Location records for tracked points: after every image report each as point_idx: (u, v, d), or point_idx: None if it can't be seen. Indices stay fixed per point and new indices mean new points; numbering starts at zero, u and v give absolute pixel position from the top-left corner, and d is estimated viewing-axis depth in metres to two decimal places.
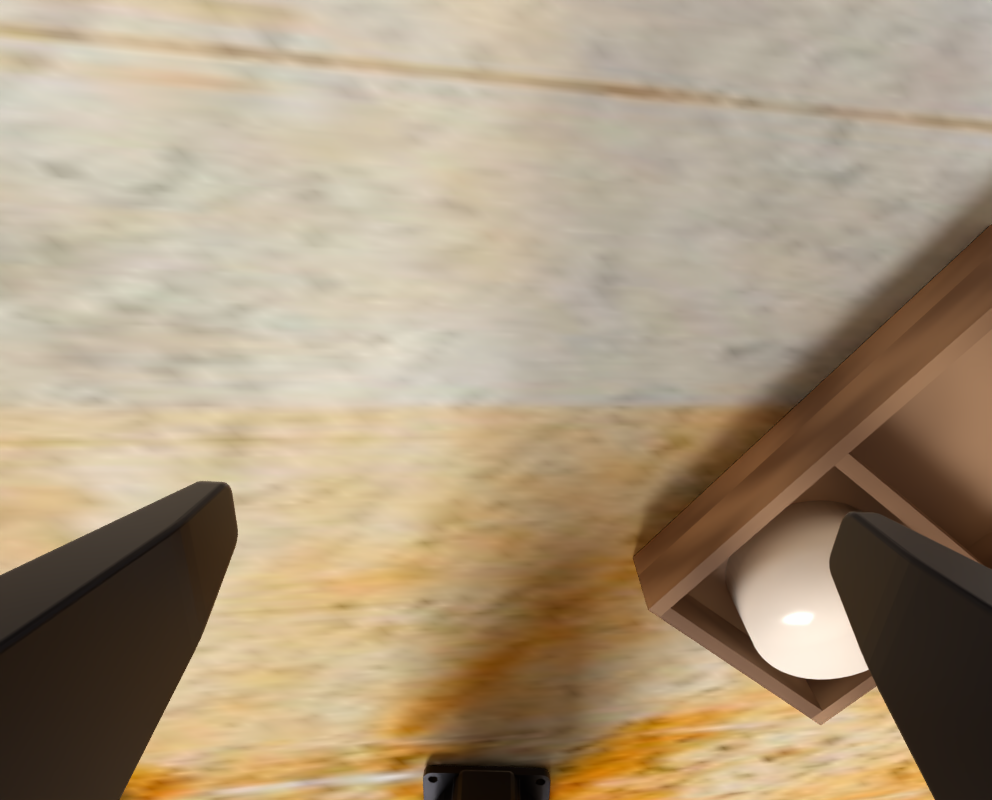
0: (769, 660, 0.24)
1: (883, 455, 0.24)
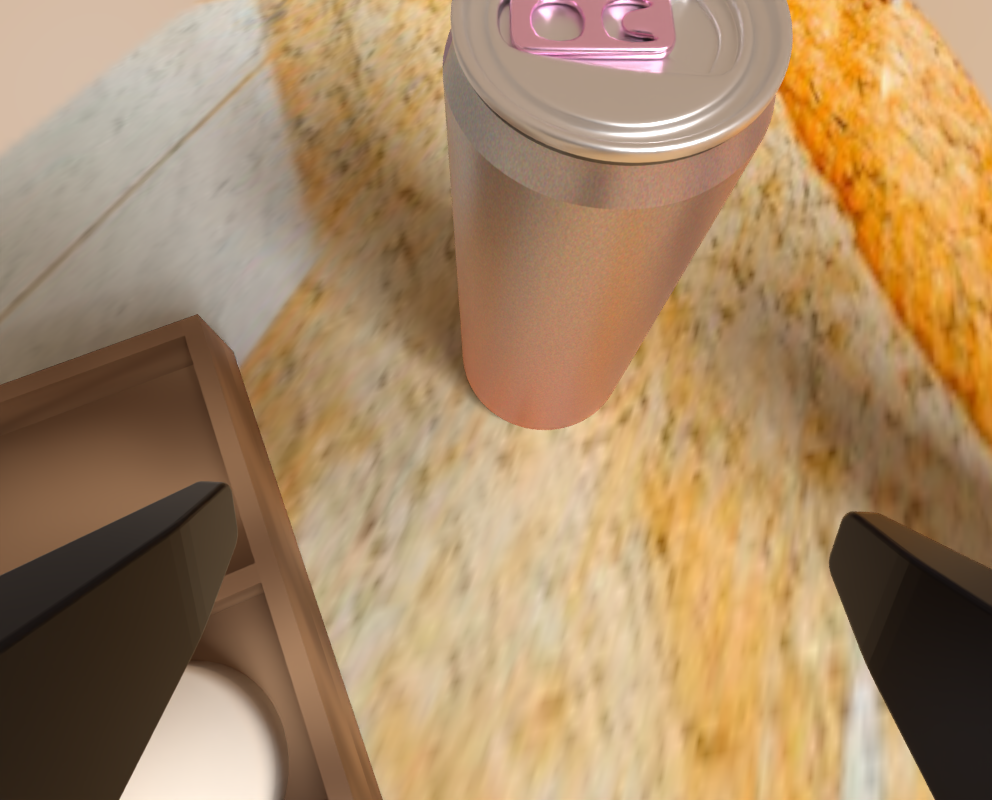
0: None
1: None
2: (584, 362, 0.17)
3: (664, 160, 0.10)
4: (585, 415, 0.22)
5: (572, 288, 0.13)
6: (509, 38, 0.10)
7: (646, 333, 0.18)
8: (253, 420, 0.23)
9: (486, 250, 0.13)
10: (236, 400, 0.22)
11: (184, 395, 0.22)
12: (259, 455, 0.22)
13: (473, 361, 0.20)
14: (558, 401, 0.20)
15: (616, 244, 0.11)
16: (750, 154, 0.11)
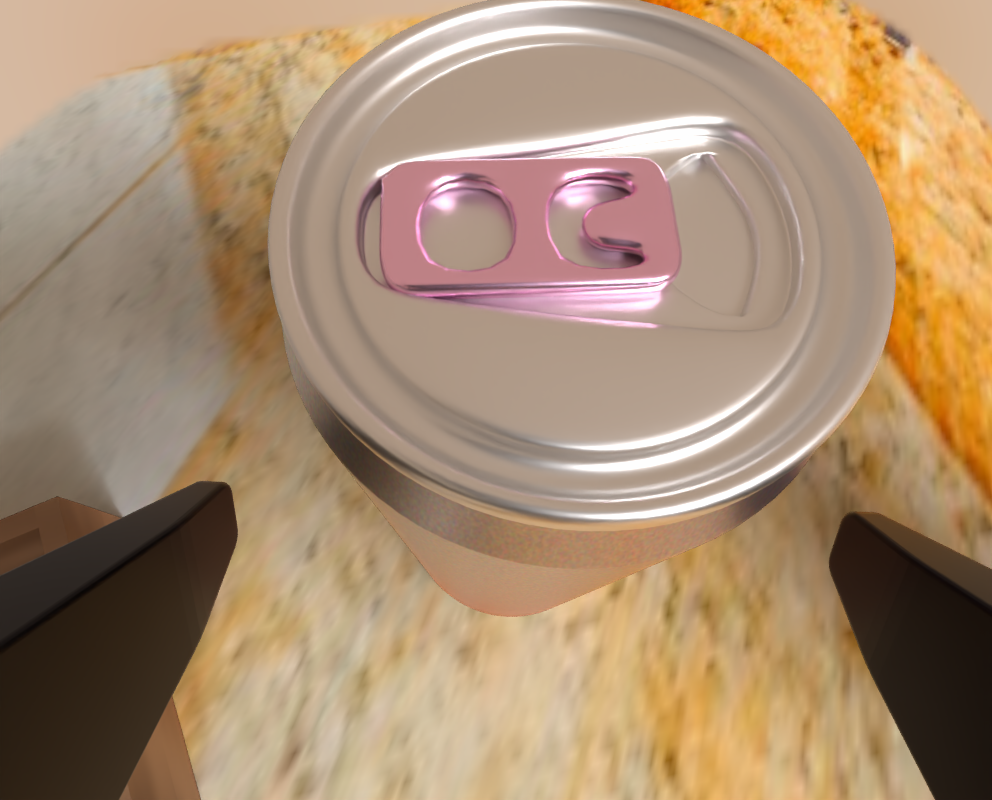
0: None
1: None
2: (557, 602, 0.12)
3: (672, 523, 0.05)
4: None
5: (526, 589, 0.08)
6: None
7: None
8: None
9: (391, 524, 0.08)
10: None
11: None
12: None
13: None
14: (528, 612, 0.15)
15: (590, 577, 0.07)
16: None
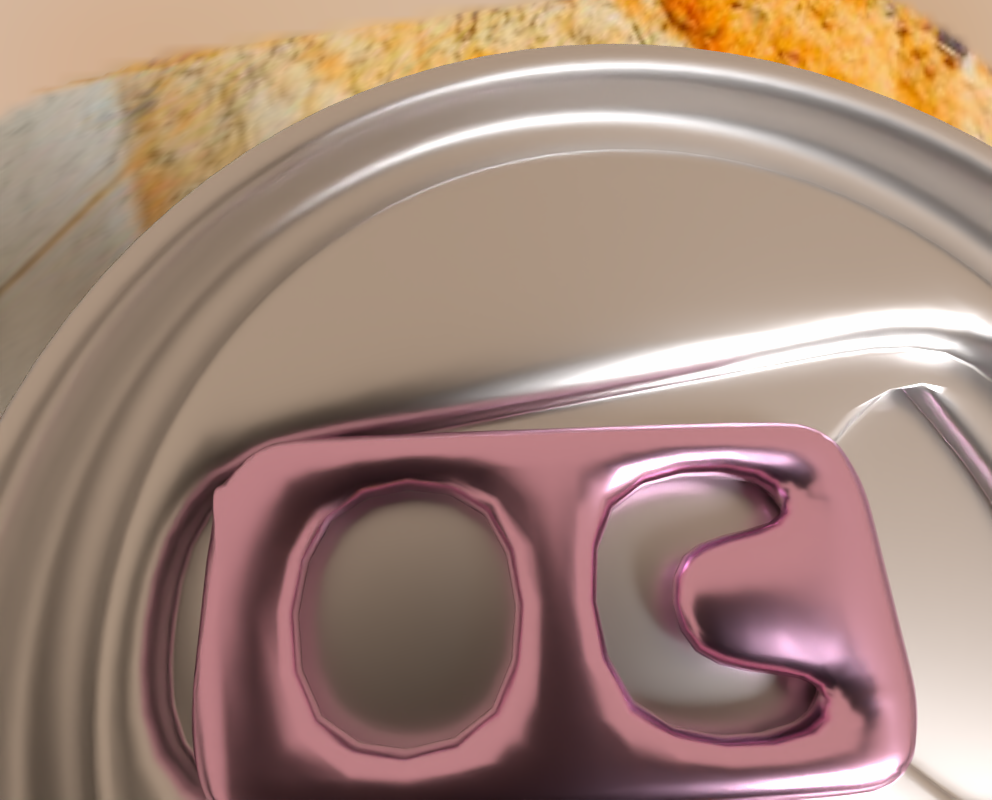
0: None
1: None
2: None
3: None
4: None
5: None
6: None
7: None
8: None
9: None
10: None
11: None
12: None
13: None
14: None
15: None
16: None
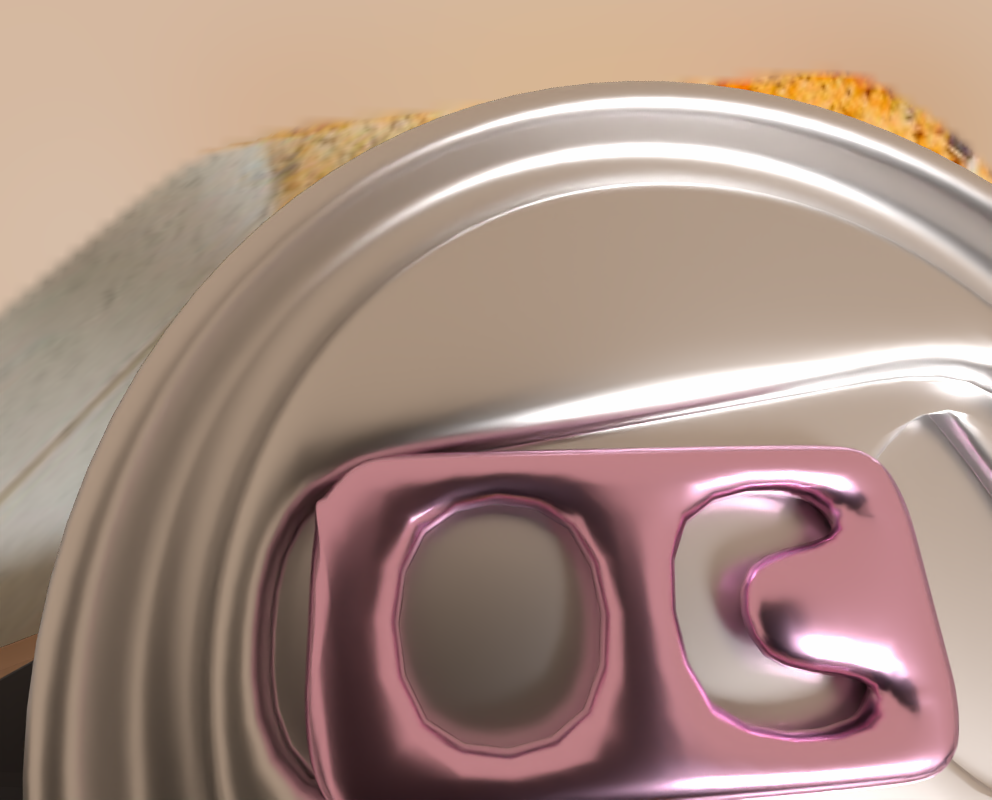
0: None
1: None
2: None
3: None
4: None
5: None
6: None
7: None
8: None
9: None
10: None
11: None
12: None
13: None
14: None
15: None
16: None
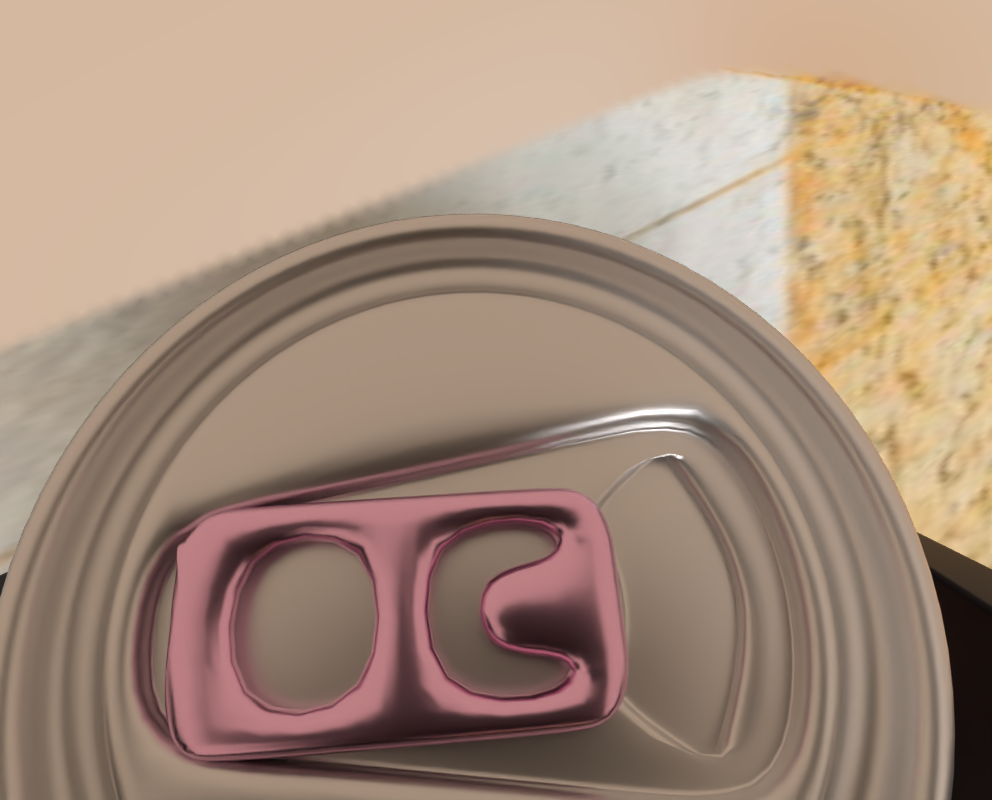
0: None
1: None
2: None
3: None
4: None
5: None
6: None
7: None
8: None
9: None
10: None
11: None
12: None
13: None
14: None
15: None
16: None
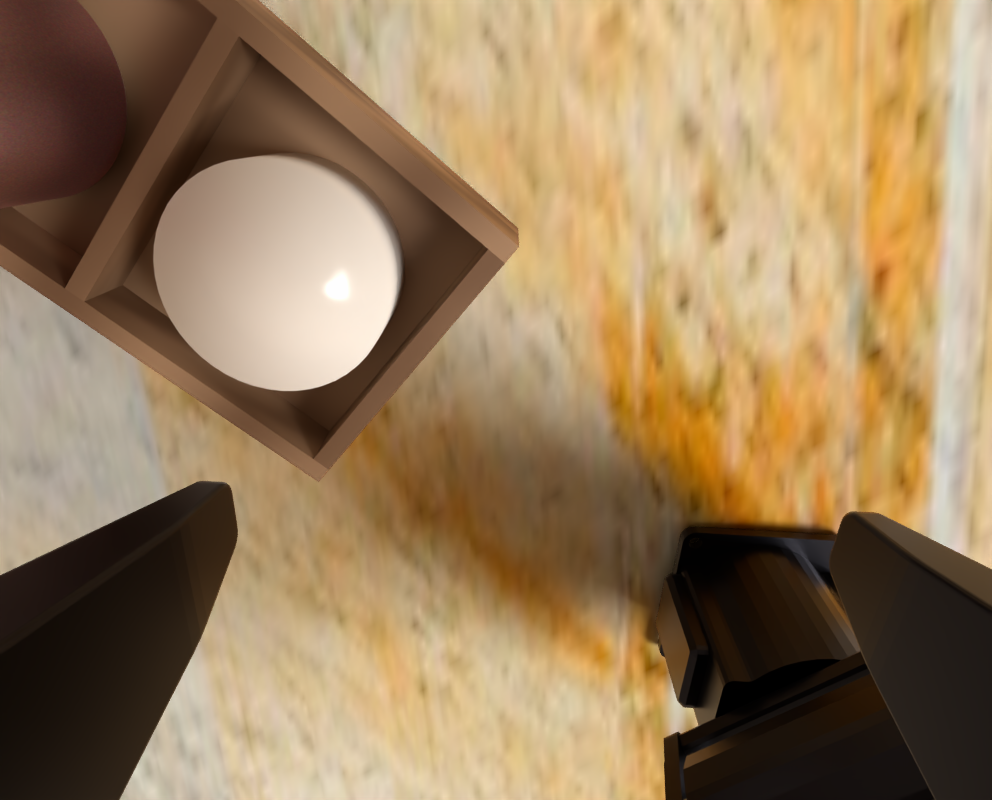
0: (358, 359, 0.18)
1: None
2: None
3: None
4: (112, 96, 0.17)
5: None
6: None
7: None
8: None
9: None
10: None
11: None
12: None
13: None
14: (45, 152, 0.15)
15: None
16: None
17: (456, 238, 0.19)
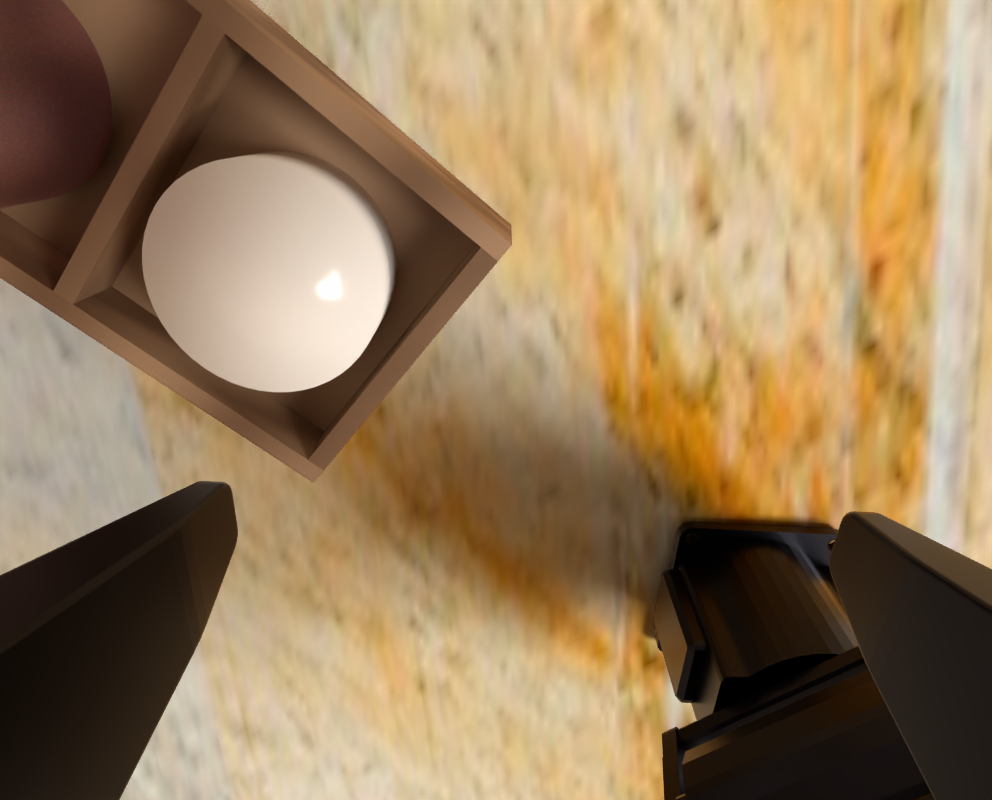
0: (351, 360, 0.18)
1: None
2: None
3: None
4: (97, 95, 0.17)
5: None
6: None
7: None
8: None
9: None
10: None
11: None
12: None
13: None
14: (29, 154, 0.15)
15: None
16: None
17: (449, 235, 0.19)
